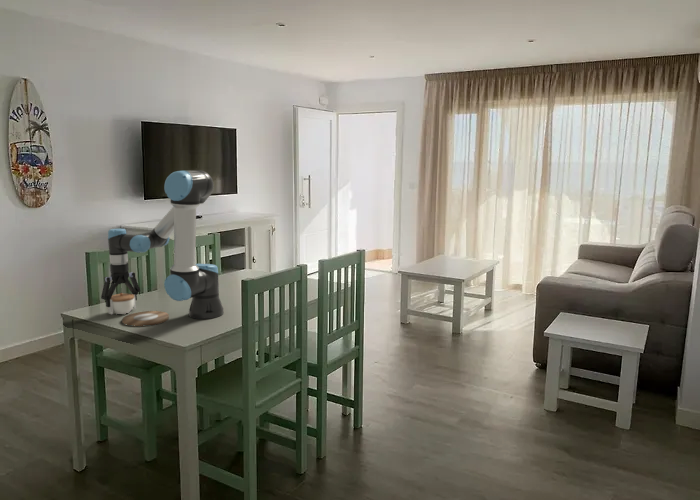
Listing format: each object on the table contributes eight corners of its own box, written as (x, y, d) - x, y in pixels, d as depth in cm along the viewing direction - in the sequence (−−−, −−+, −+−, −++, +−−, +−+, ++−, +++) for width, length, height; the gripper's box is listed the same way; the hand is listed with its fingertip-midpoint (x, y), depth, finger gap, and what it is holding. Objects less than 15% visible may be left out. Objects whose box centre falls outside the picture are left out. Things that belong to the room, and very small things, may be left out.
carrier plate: (177, 315, 242) (177, 313, 242) (149, 328, 224) (149, 325, 224) (142, 311, 248) (142, 309, 248) (112, 323, 230) (112, 320, 230)
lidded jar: (108, 317, 240) (106, 296, 238) (111, 310, 250) (110, 290, 248) (133, 315, 242) (132, 295, 241) (136, 308, 253) (135, 289, 251)
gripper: (137, 258, 254) (140, 303, 257) (89, 266, 235) (93, 315, 239) (146, 260, 249) (149, 306, 253) (99, 268, 231) (103, 318, 234)
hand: (122, 310), depth 246 cm, fingers closed on lidded jar, 11 cm apart
